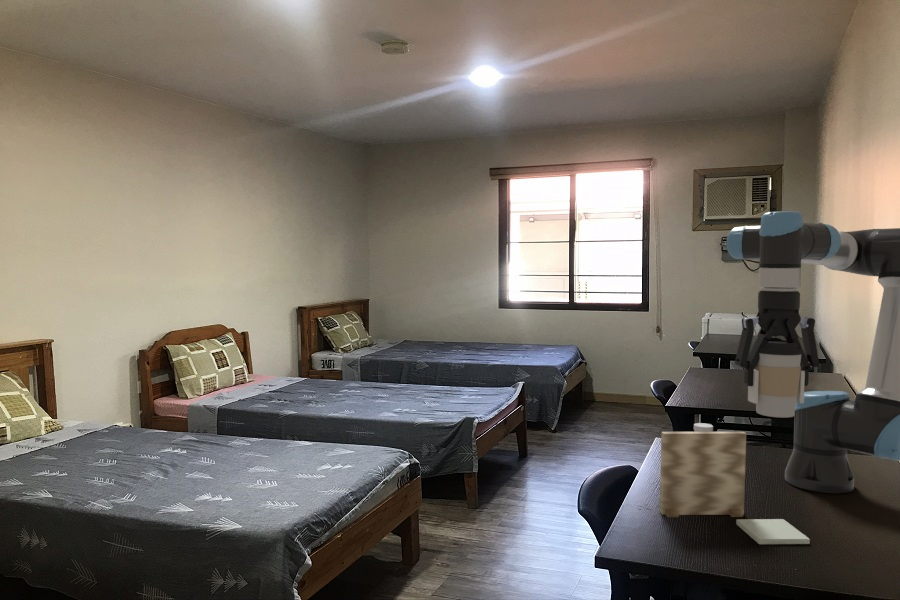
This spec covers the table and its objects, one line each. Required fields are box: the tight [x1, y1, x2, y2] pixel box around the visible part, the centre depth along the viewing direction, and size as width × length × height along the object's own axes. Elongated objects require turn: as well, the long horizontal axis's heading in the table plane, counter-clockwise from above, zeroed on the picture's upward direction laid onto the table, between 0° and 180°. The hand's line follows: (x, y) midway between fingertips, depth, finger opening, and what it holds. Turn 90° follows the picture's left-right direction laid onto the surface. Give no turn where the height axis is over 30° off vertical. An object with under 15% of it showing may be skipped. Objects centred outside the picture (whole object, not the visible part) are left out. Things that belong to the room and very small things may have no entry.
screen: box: [659, 431, 747, 518], centre depth 146 cm, size 18×4×18 cm, turn 91°
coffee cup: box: [754, 337, 803, 418], centre depth 134 cm, size 9×9×15 cm
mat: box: [735, 518, 811, 545], centre depth 136 cm, size 10×10×1 cm
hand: (775, 401), depth 135 cm, fingers closed on coffee cup, 8 cm apart
